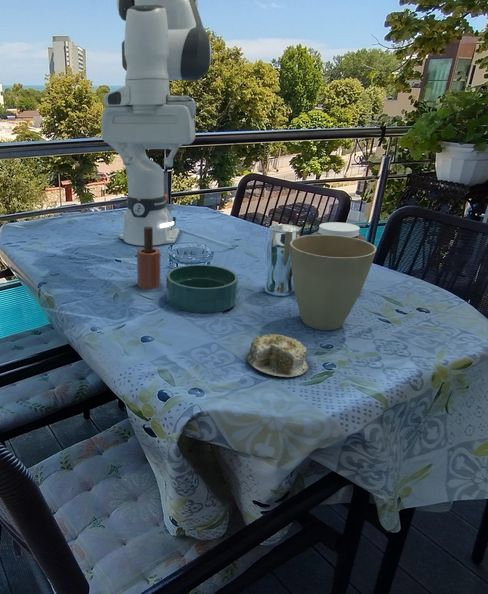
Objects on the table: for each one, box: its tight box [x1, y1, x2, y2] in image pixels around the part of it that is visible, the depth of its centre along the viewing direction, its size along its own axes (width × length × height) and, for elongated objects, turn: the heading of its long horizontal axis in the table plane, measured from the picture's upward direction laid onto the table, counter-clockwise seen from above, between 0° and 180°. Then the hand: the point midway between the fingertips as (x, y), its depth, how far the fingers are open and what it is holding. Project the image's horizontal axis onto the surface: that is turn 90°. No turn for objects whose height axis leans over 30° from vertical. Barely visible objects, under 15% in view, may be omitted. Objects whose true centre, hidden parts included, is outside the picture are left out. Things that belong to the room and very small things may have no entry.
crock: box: [136, 247, 161, 290], centre depth 109 cm, size 5×5×9 cm
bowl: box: [166, 264, 239, 314], centre depth 101 cm, size 15×15×6 cm
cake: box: [246, 333, 309, 378], centre depth 77 cm, size 10×10×5 cm
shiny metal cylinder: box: [264, 223, 301, 297], centre depth 104 cm, size 7×7×15 cm
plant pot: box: [290, 234, 377, 331], centre depth 89 cm, size 15×15×16 cm
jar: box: [310, 221, 367, 242], centre depth 105 cm, size 12×12×15 cm
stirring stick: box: [143, 227, 154, 253], centre depth 108 cm, size 2×2×14 cm
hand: (147, 165), depth 100 cm, fingers open, 8 cm apart
